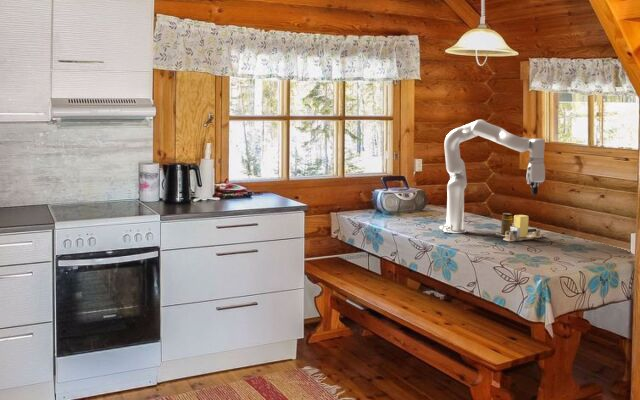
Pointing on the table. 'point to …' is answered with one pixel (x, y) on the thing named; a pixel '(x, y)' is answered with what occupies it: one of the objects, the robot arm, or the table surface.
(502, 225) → the condiment
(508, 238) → the cord rig
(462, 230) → the robot arm
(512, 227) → the grey slab
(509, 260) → the table surface
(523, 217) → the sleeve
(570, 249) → the table surface
